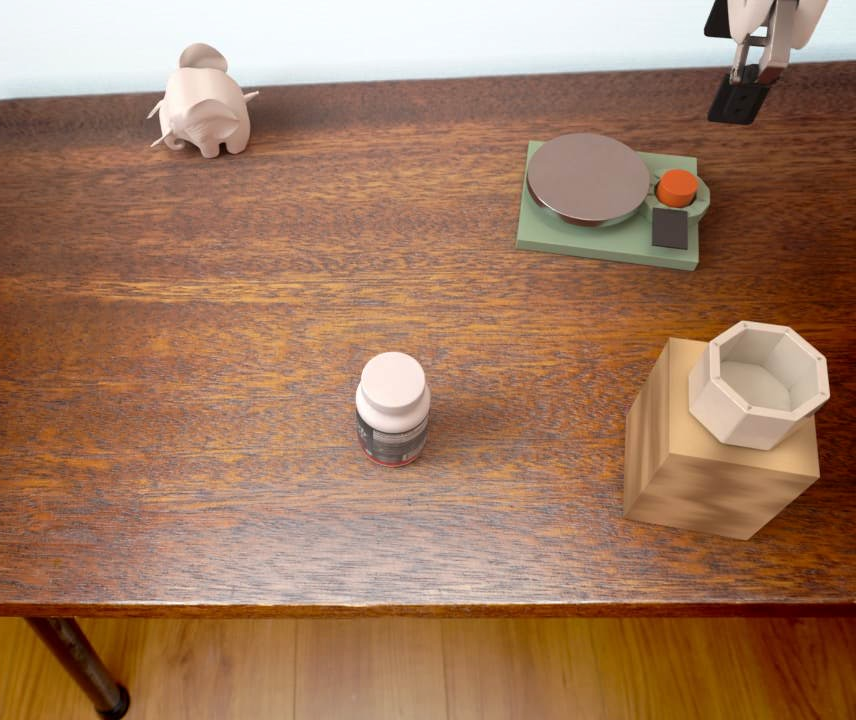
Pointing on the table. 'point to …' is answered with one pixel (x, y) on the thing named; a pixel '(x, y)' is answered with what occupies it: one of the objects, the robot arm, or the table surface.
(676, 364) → the stand
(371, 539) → the table surface
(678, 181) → the tare button
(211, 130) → the elephant figurine
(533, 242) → the scale
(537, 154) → the scale pan
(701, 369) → the bowl
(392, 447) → the pill bottle
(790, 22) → the robot arm
